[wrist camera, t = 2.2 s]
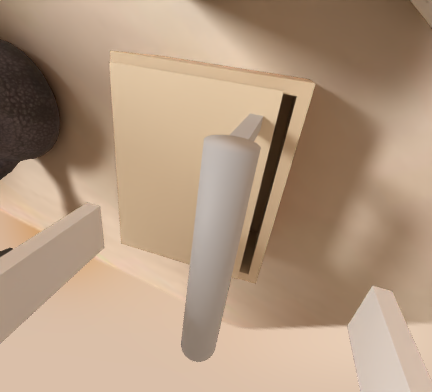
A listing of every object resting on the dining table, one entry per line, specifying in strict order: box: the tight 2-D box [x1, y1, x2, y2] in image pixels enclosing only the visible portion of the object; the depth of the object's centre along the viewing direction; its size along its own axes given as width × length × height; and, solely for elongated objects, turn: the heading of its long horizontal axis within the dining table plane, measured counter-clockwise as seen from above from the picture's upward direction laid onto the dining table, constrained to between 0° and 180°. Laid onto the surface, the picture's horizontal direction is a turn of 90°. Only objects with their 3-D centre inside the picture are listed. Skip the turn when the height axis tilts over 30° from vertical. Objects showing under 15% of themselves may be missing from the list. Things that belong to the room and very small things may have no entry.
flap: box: [109, 62, 284, 362], centre depth 15 cm, size 11×15×8 cm
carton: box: [110, 51, 316, 284], centre depth 22 cm, size 13×16×7 cm
